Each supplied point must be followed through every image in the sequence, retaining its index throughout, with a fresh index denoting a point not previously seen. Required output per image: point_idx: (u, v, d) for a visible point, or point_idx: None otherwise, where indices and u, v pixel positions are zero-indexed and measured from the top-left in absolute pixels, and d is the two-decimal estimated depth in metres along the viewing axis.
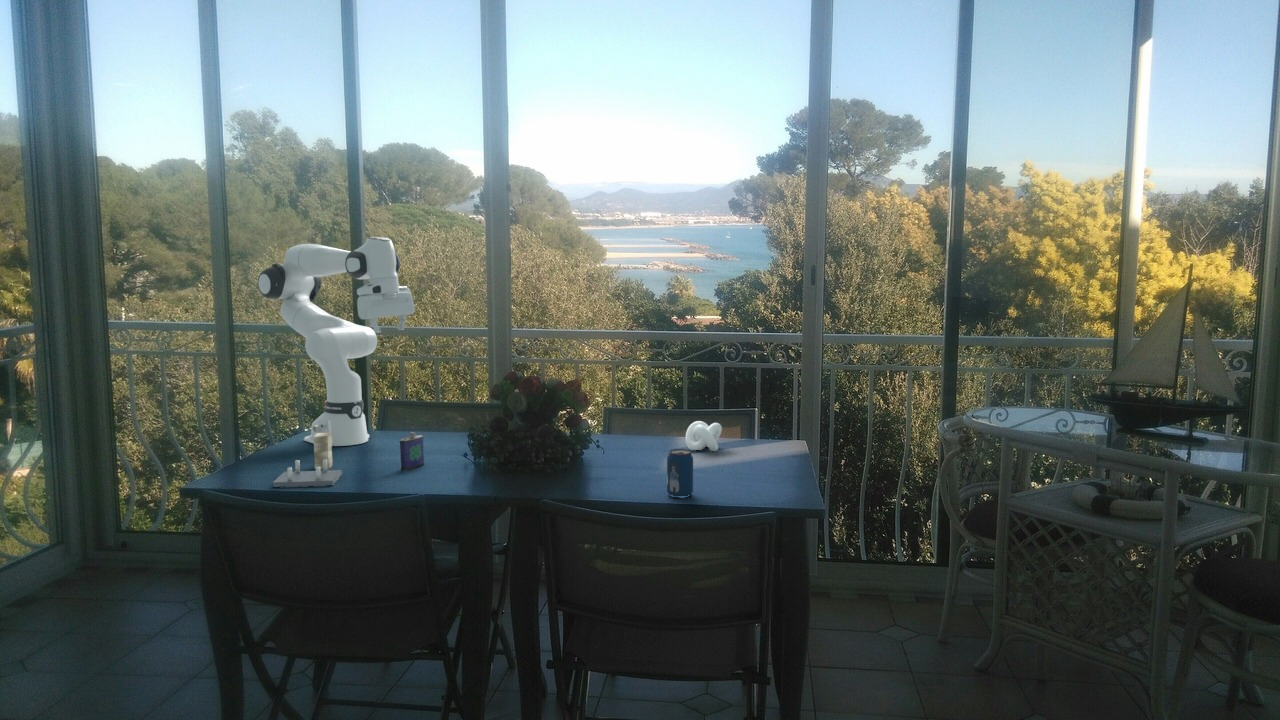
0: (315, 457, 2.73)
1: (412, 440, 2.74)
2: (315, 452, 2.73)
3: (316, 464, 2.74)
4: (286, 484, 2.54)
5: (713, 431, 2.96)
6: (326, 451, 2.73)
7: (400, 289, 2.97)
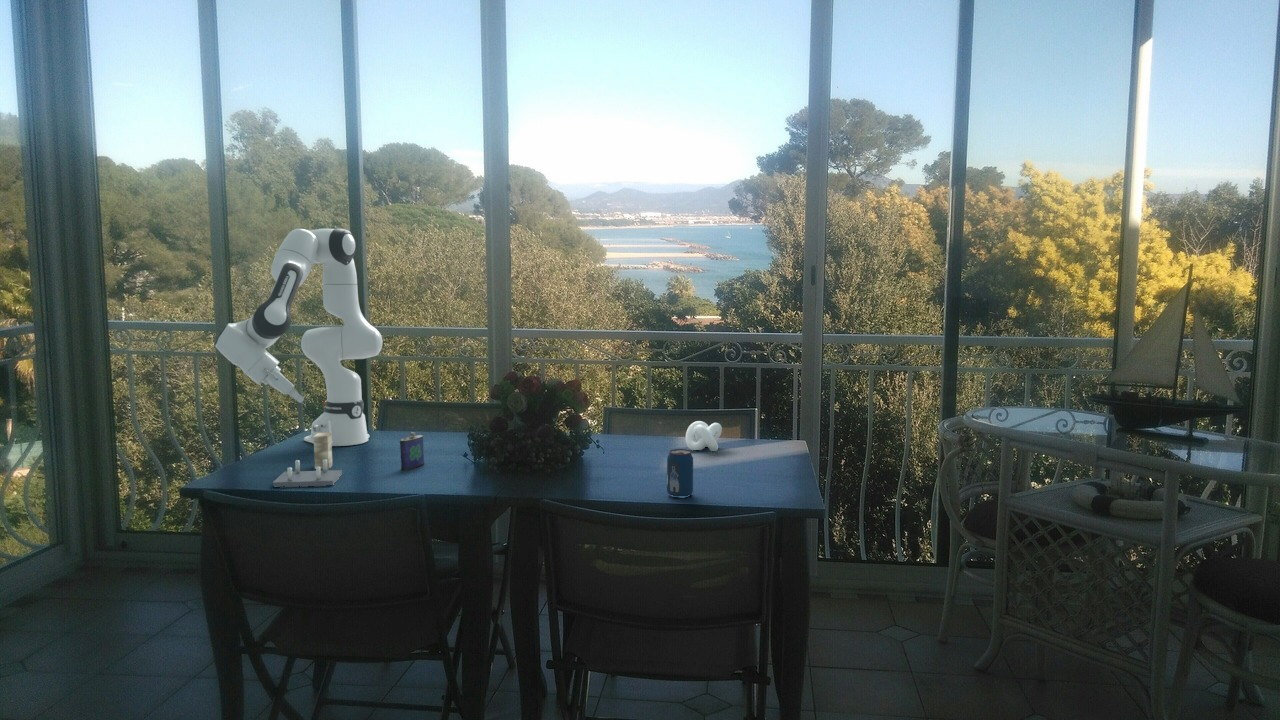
0: (315, 457, 2.73)
1: (412, 440, 2.74)
2: (315, 452, 2.73)
3: (316, 464, 2.74)
4: (286, 484, 2.54)
5: (713, 431, 2.96)
6: (326, 451, 2.73)
7: (266, 372, 2.63)
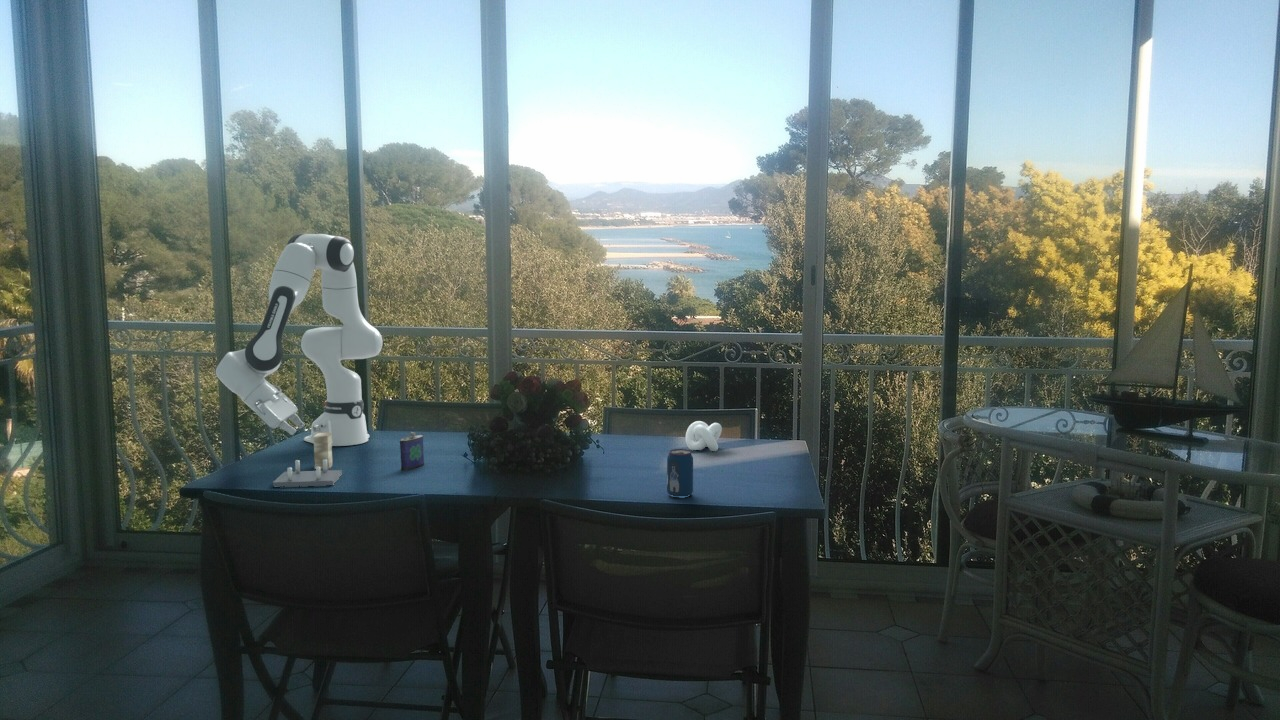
0: (315, 457, 2.73)
1: (412, 440, 2.74)
2: (315, 452, 2.73)
3: (316, 464, 2.74)
4: (286, 484, 2.54)
5: (713, 431, 2.96)
6: (326, 451, 2.73)
7: None
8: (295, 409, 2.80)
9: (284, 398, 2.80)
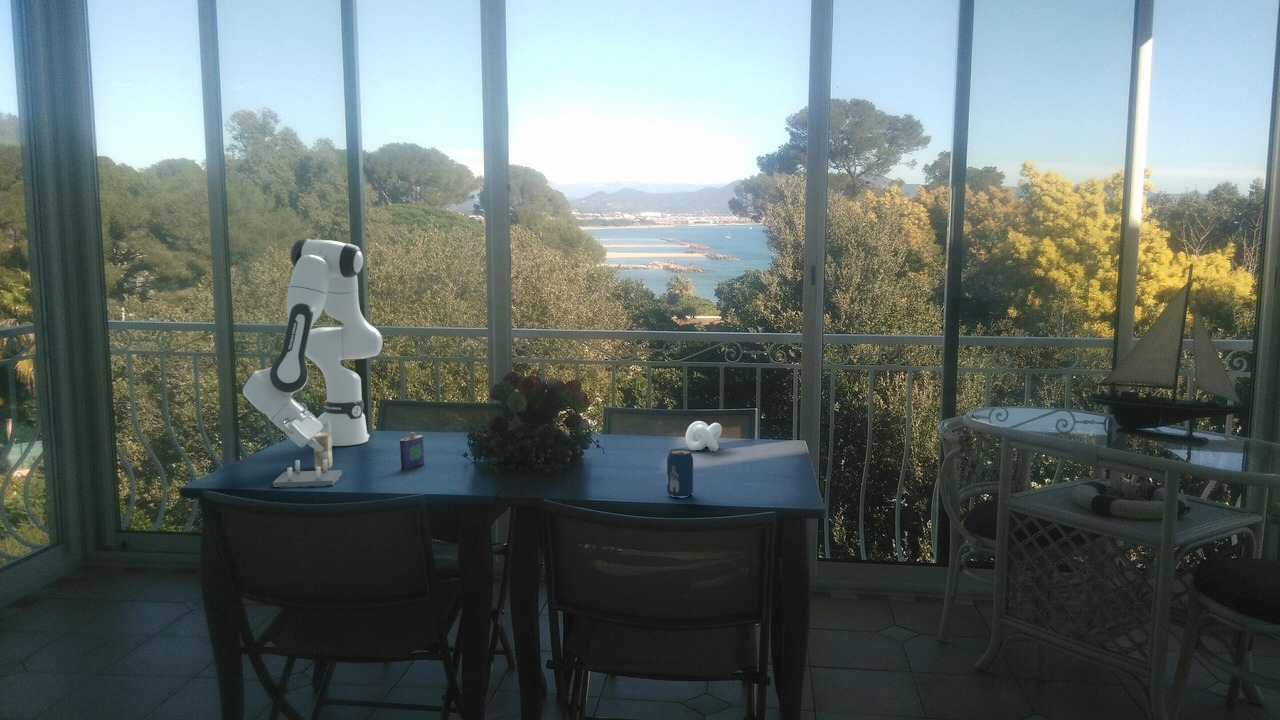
0: (315, 457, 2.73)
1: (412, 440, 2.74)
2: (315, 452, 2.73)
3: (316, 464, 2.74)
4: (286, 484, 2.54)
5: (713, 431, 2.96)
6: (326, 451, 2.73)
7: None
8: (321, 427, 2.82)
9: (310, 416, 2.81)
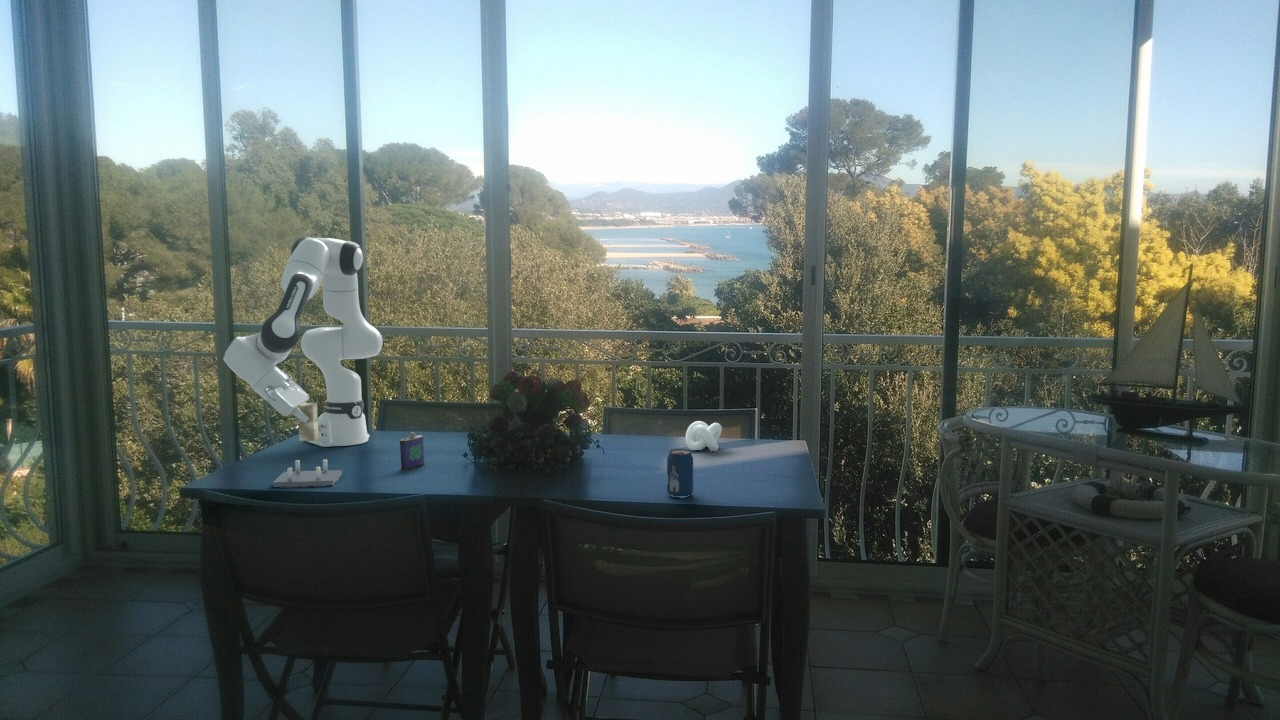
0: (300, 428, 2.58)
1: (412, 440, 2.74)
2: (300, 422, 2.58)
3: (301, 435, 2.58)
4: (286, 484, 2.54)
5: (713, 431, 2.96)
6: (311, 421, 2.58)
7: None
8: (306, 397, 2.66)
9: (295, 386, 2.66)
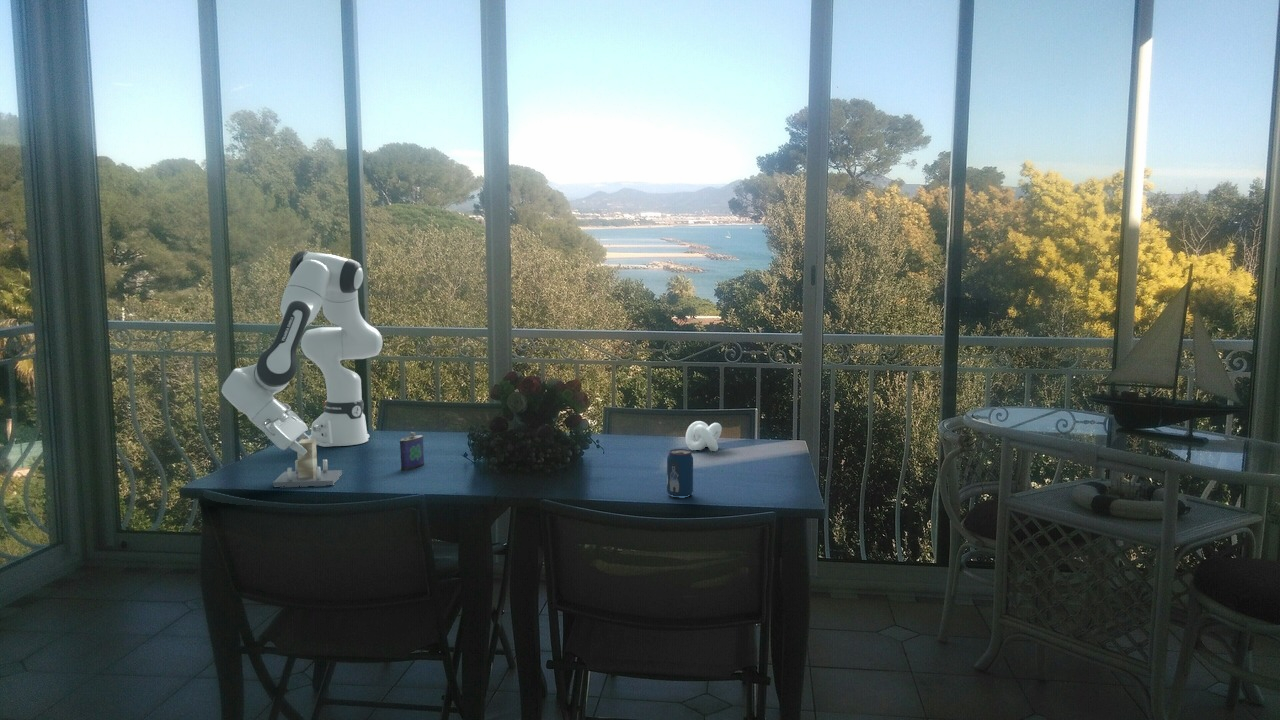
0: (299, 465, 2.57)
1: (412, 440, 2.74)
2: (299, 460, 2.57)
3: (300, 472, 2.57)
4: (286, 484, 2.54)
5: (713, 431, 2.96)
6: (310, 459, 2.57)
7: None
8: (305, 428, 2.65)
9: (293, 416, 2.65)
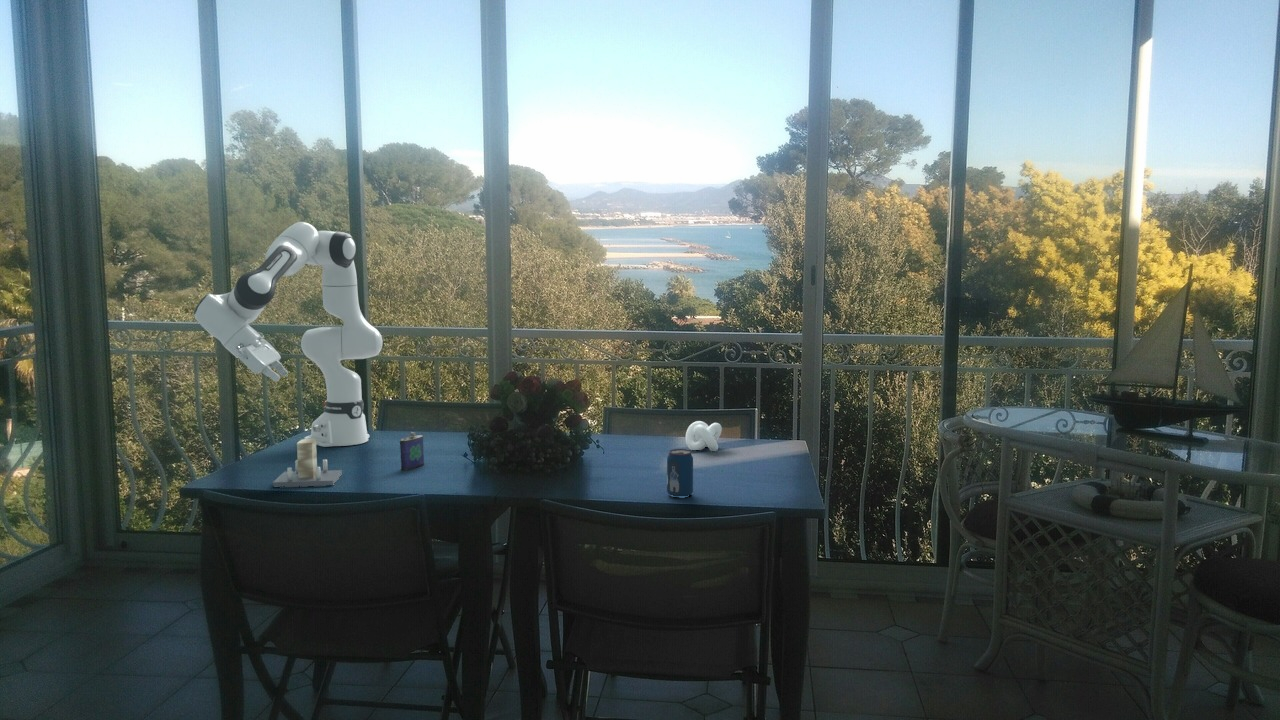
0: (299, 465, 2.57)
1: (412, 440, 2.74)
2: (299, 460, 2.57)
3: (300, 472, 2.57)
4: (286, 484, 2.54)
5: (713, 431, 2.96)
6: (310, 459, 2.57)
7: None
8: (278, 356, 2.66)
9: (266, 345, 2.66)
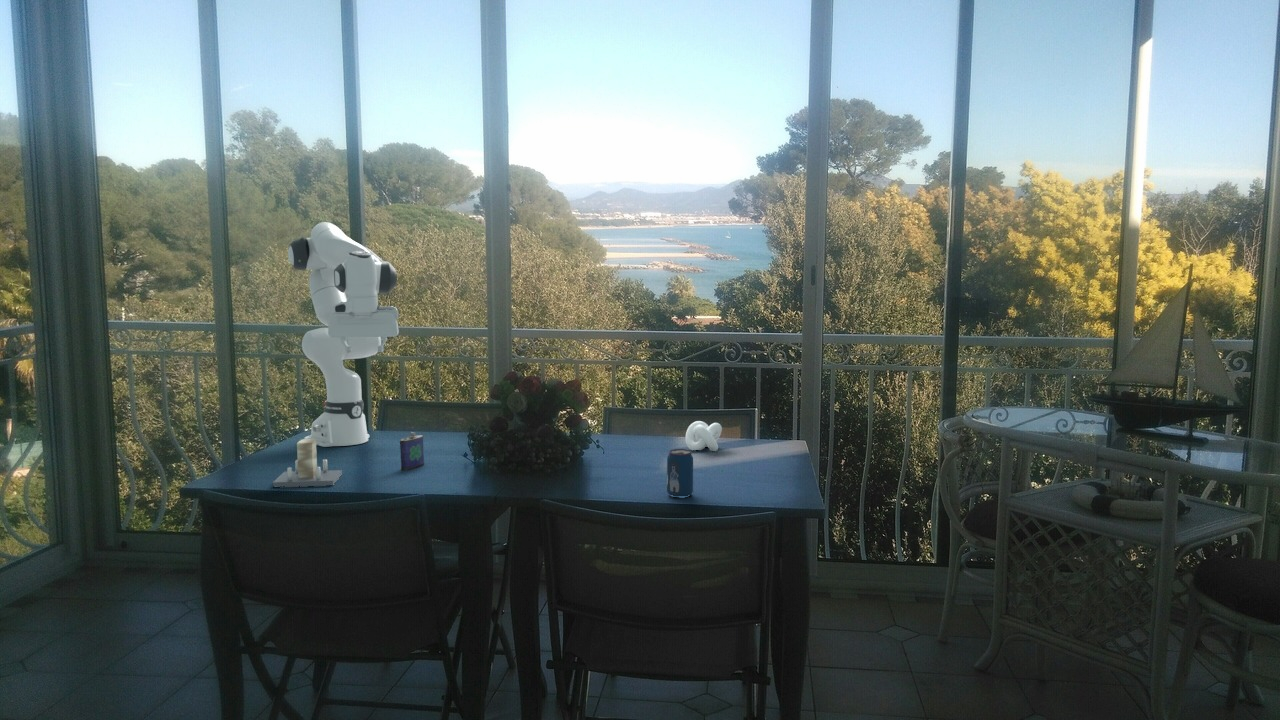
0: (299, 465, 2.57)
1: (412, 440, 2.74)
2: (299, 460, 2.57)
3: (300, 472, 2.57)
4: (286, 484, 2.54)
5: (713, 431, 2.96)
6: (310, 459, 2.57)
7: (382, 309, 2.76)
8: None
9: None
